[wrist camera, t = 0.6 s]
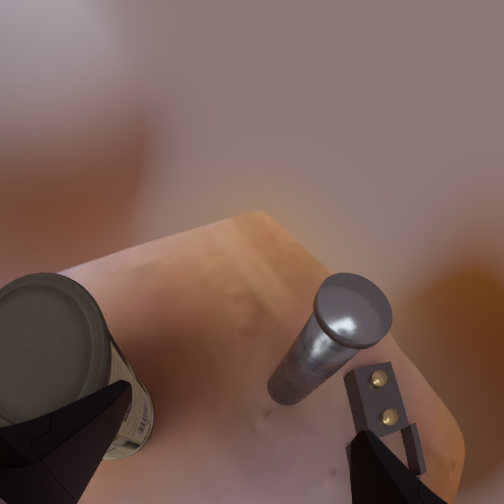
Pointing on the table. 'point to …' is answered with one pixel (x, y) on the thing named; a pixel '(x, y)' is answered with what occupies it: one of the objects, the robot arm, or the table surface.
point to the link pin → (331, 335)
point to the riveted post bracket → (382, 409)
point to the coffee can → (62, 356)
